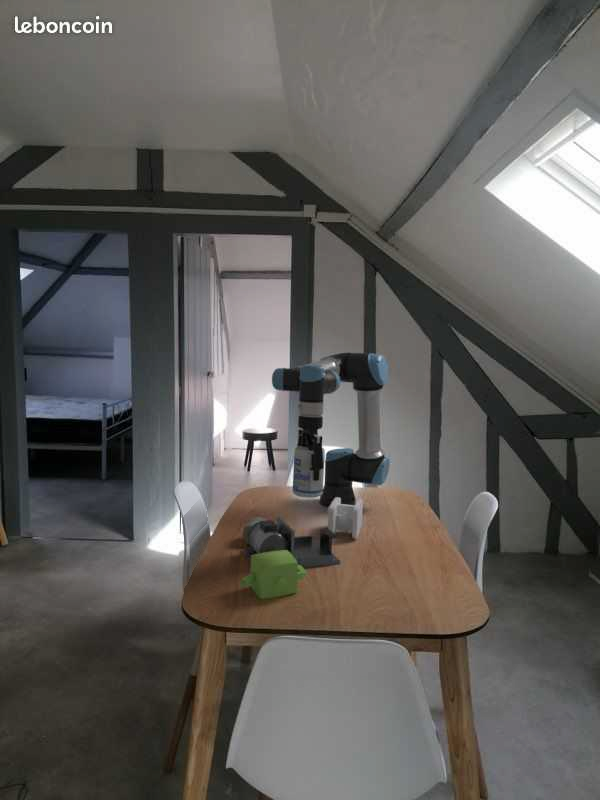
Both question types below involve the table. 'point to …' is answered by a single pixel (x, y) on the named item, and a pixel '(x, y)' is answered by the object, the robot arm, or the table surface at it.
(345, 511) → the cable organizer
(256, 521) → the ceramic mug
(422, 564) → the table surface
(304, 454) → the supplement tub
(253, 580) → the gearbox
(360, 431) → the robot arm
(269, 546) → the motor clip
